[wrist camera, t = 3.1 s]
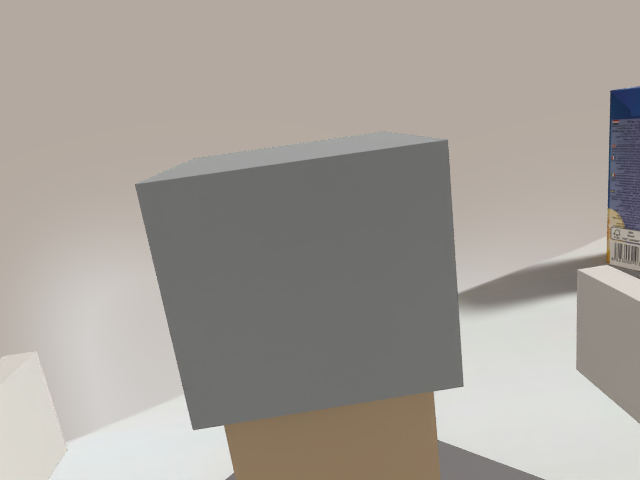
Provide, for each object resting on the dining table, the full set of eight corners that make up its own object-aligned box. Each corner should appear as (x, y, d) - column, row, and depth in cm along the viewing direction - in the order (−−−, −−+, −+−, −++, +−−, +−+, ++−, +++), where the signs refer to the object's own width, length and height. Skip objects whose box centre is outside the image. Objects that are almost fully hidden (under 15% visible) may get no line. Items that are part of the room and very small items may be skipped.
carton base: (407, 491, 30) (377, 205, 25) (453, 628, 22) (421, 246, 17) (277, 513, 29) (222, 228, 25) (274, 660, 21) (193, 281, 17)
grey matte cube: (399, 291, 27) (384, 131, 25) (463, 386, 17) (447, 139, 15) (226, 317, 27) (194, 158, 24) (193, 430, 17) (134, 184, 15)
